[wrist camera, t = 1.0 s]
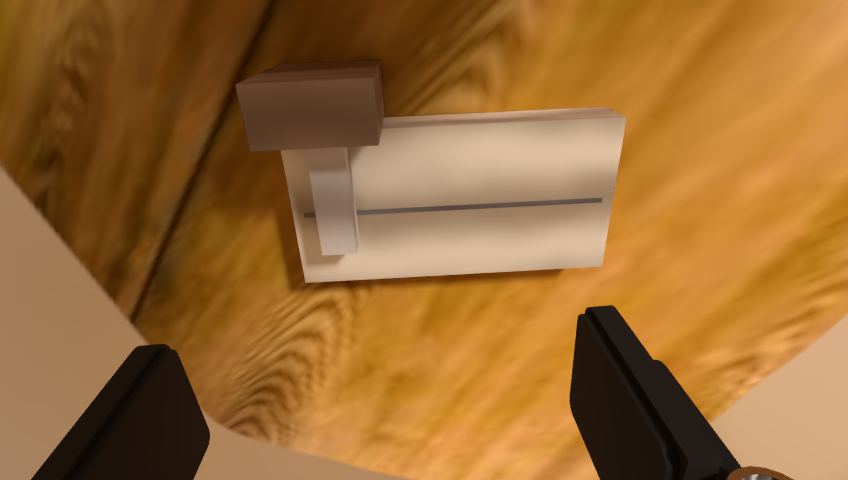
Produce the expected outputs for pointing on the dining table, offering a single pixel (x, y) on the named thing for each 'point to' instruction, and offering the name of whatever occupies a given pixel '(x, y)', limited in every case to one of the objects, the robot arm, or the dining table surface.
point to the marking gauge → (319, 131)
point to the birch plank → (471, 195)
